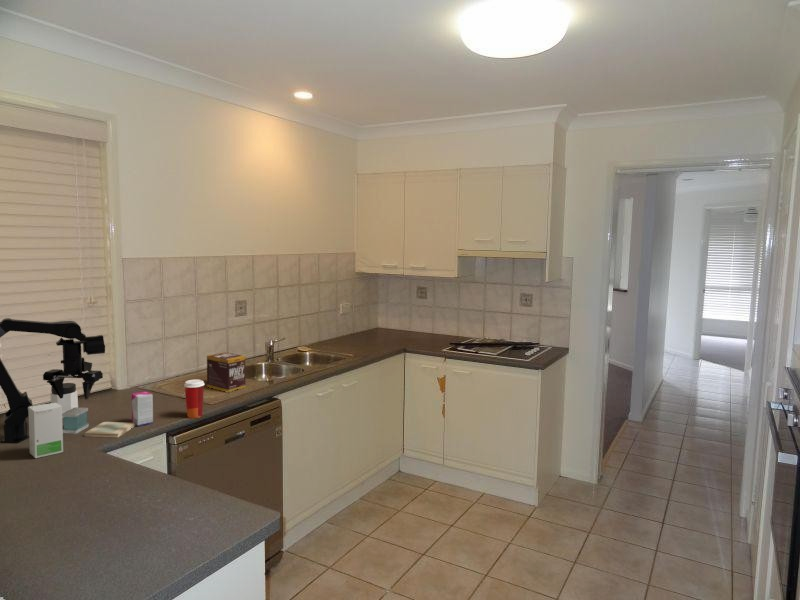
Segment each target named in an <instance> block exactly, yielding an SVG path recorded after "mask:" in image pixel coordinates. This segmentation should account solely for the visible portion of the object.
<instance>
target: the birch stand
mask: <svg viewBox="0 0 800 600" xmlns="http://www.w3.org/2000/svg"><path fill="white" fill-rule="evenodd" d="M135 427H136V423H132V422H124V421H121V422H119V421H103V422H100V423H99V424H97V425H96V426H94V427H92V428H91V429H89V430H87V431H85V432H84V434H83V437H92V438H93V437H94V438H95V437H96V438H101V437H102V438H119V437H121V436H122V435H124V434H125V433H127V432H129V431H130V430H131V428H132V429H133V428H135Z"/></svg>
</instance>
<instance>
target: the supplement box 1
mask: <svg viewBox="0 0 800 600" xmlns="http://www.w3.org/2000/svg"><path fill="white" fill-rule="evenodd" d="M153 398H154V397H153V394H152V393H150V392H149V391H141V392H134V393H131V423H136V426H137V427H138V426H139V427H143V426H146V425H151V424H153V423H154V407H153V405H154V403H153V402H154V401H153ZM136 426H135V427H136Z"/></svg>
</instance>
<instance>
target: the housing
mask: <svg viewBox="0 0 800 600" xmlns="http://www.w3.org/2000/svg"><path fill="white" fill-rule="evenodd" d="M88 411H89V407H79V406H78V407H75V408H73V409H70V410H68V411H66V412H64V413H62V417H63V418H62V421H63V429H62V430H63V434H70V435H71V434H73V435H77V434H78V433H80V432H82V431H83V430H85V429H87V428H89V426H90V423H88V416H87V414H88V413H87V412H88Z"/></svg>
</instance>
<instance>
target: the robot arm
mask: <svg viewBox="0 0 800 600" xmlns="http://www.w3.org/2000/svg"><path fill="white" fill-rule="evenodd" d="M9 332H18V333H19V332H21V333H33V334H34V333H36V334H48V335H53V336H57V337H60V338H59V339H58V340H57V341H56V342H55V345H56V346H61V347H62V359H61V360H60V364H63V369H55V368H54V369H53V368H52V369H49V370H48V371H45V372H43V374H42V380H43V381H46V383H47V384H48V383H49V385H50V386H51V387H53V388H54V390H55V391H56V393H57V394H58V396H59V397H60V399H62V398H63V383H64V380H65V379H67V378H69V379H82V380H83V382H81V383H82V390H83V396H84V400H88V399H89V396H90V395H91V391H92V389H93V387H94V384H95V383H96V382H98V381H100V380H101V379H103V376H104V375H103V374H104V373H103V372H102V370H94V369H93V370H92V367H93V362H89V361H85V357H82V352H83V353H86V355H87V356H91V355H100V354H102V355H103V354H106V345H105V340H104V335H103V334H100V335H99V334H98V335H92V336H87V335H86V334H85V333H83V332H82V328H81V326H80V325H79V324H78V323H77V322H76V321H74V320H61V321H53V322H51V321H50V322H49V321H40V320H39V321H37V320H36V321H35V320H25V319H13V318H9V317H7V318H3V319H1V320H0V339H1V338H2V337H4V336H5V335H6V334H8V333H9ZM64 338H65V339H64ZM75 339H76V340H77V341H76V340H75ZM0 388H1V389H2V391H3V393H4V395H5V396H6V397H5V398H6V399H7V403H8V406H9V409H8V410H7V411H6V412H5V413H4V414H3V422H4V424H3V434H4V436H3V437H4V438H2V439H1V440H0V443H14V444H15V443H16V444H17V443H21V442H22V441H25V440H27V439H29V434H28V425H27V418H29V413H28V407H30V406H34V405H33V402H32V399H30V397H29V396H28V392H27V391H23V392H21V391H20V390H19V389H18V387H17V385H16V383H15V382H14V380H13V378H12V376H11V375H10V373H9V371H8V369H7V368H6V365H5V364H4V363H3V361H2V358H0Z"/></svg>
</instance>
